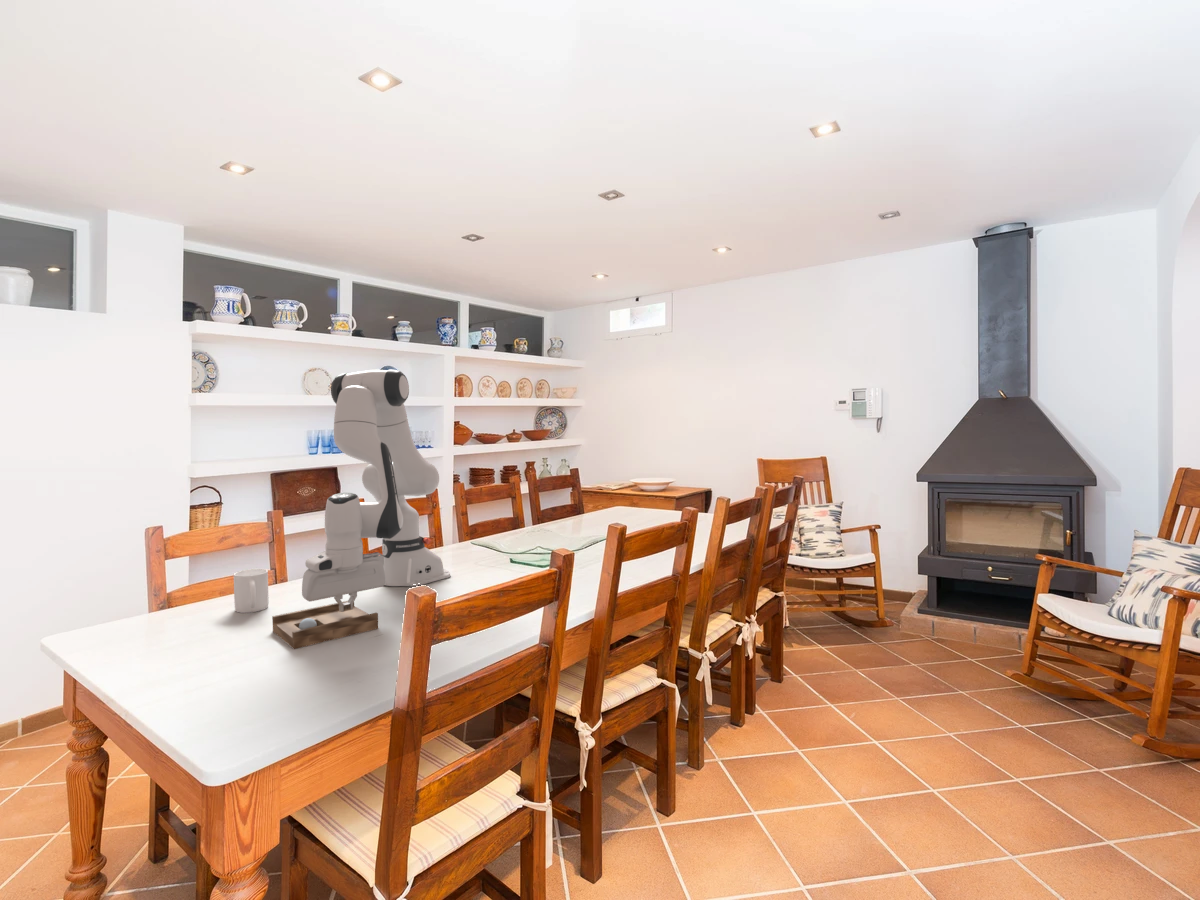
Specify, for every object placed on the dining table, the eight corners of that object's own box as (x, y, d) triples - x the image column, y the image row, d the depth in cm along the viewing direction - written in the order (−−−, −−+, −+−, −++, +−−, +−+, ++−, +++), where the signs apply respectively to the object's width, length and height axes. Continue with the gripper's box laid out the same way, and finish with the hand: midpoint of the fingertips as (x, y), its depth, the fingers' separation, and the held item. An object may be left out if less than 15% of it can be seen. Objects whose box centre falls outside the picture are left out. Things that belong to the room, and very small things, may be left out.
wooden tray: (352, 613, 168) (352, 599, 168) (378, 628, 156) (378, 613, 156) (272, 631, 154) (272, 616, 154) (294, 649, 142) (293, 632, 142)
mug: (270, 614, 168) (269, 576, 167) (235, 619, 163) (234, 580, 163) (267, 602, 178) (266, 567, 177) (234, 607, 173) (233, 571, 173)
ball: (307, 634, 154) (316, 619, 155) (313, 639, 151) (322, 623, 152) (293, 629, 151) (302, 614, 153) (298, 633, 149) (307, 617, 150)
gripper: (378, 549, 167) (379, 599, 168) (298, 561, 153) (300, 616, 154) (389, 552, 163) (390, 604, 163) (307, 566, 148) (309, 622, 149)
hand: (346, 610), depth 159 cm, fingers closed
